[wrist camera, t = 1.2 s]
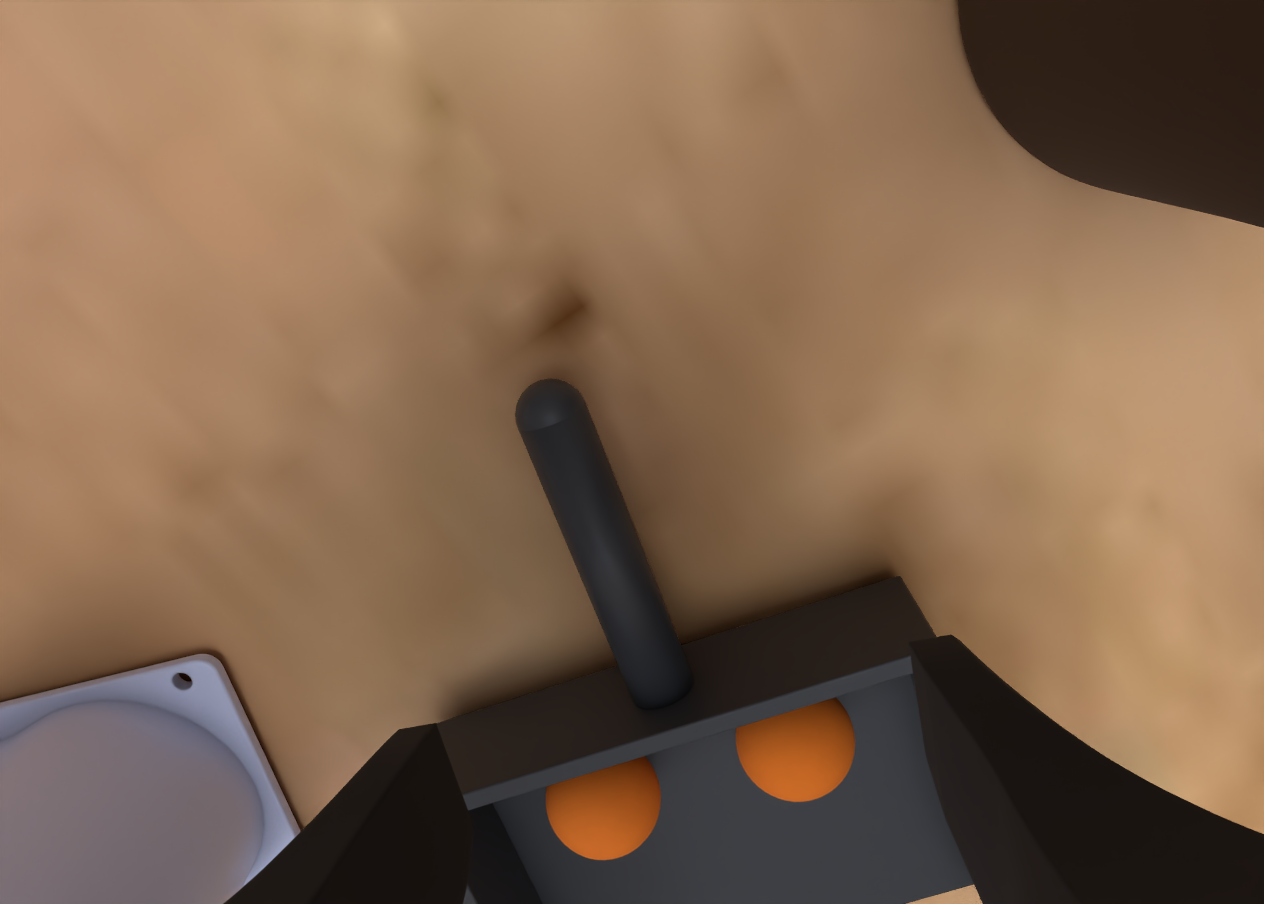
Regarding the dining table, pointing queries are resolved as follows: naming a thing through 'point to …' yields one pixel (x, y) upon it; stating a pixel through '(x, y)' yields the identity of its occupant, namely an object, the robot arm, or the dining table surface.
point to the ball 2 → (799, 751)
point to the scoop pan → (700, 730)
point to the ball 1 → (606, 809)
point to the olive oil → (1131, 93)
